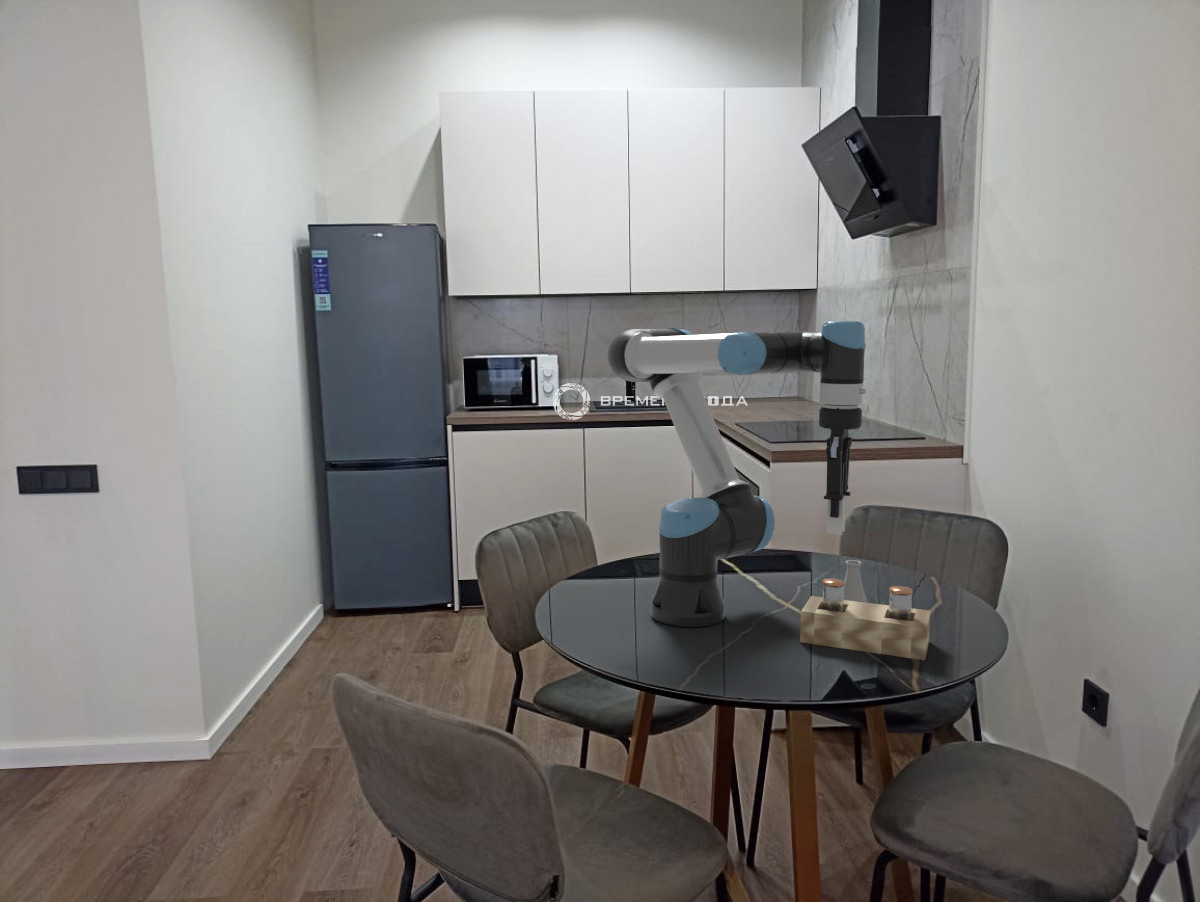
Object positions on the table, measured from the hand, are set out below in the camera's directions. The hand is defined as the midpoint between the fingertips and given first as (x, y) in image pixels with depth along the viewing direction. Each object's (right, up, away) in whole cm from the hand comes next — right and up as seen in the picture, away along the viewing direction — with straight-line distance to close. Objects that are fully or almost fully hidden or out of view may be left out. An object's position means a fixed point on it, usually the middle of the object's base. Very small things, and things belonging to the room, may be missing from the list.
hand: (835, 531), depth 162 cm
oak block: (+5, -21, +1) cm, 21 cm away
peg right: (+11, -16, -3) cm, 20 cm away
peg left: (0, -15, +2) cm, 15 cm away
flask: (+9, -18, +20) cm, 28 cm away
